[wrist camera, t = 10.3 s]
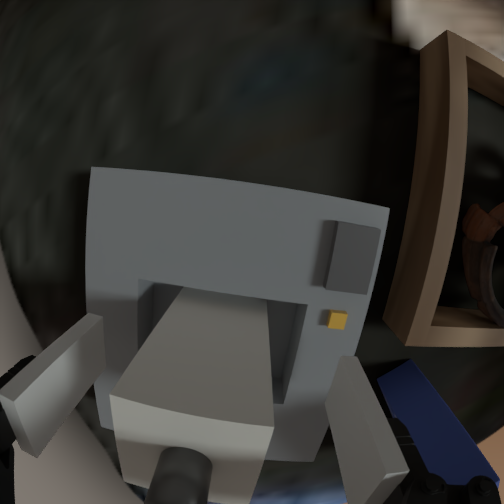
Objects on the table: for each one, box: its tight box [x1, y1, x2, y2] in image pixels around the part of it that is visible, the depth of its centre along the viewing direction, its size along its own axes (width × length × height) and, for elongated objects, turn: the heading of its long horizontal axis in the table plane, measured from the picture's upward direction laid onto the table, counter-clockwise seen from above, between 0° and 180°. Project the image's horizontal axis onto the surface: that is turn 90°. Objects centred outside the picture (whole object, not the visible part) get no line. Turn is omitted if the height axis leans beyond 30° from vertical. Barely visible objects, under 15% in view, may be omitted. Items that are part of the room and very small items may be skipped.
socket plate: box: [85, 167, 390, 462], centre depth 16 cm, size 14×16×4 cm
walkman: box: [377, 359, 500, 488], centre depth 13 cm, size 8×3×12 cm, turn 29°
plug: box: [109, 287, 274, 504], centre depth 11 cm, size 4×4×12 cm
